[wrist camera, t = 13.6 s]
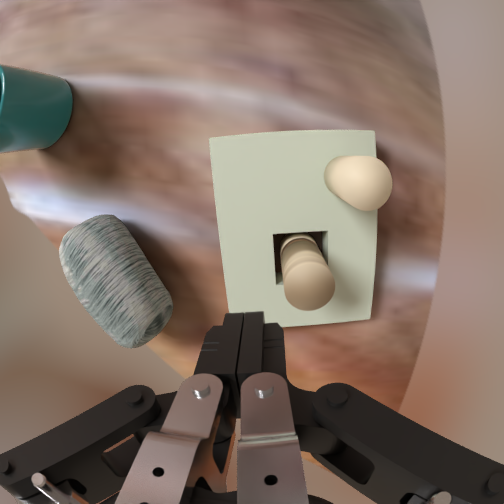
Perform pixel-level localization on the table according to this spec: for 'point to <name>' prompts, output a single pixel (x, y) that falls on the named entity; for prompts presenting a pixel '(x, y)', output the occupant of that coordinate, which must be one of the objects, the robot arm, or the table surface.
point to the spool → (115, 281)
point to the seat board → (298, 216)
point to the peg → (305, 272)
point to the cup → (32, 109)
